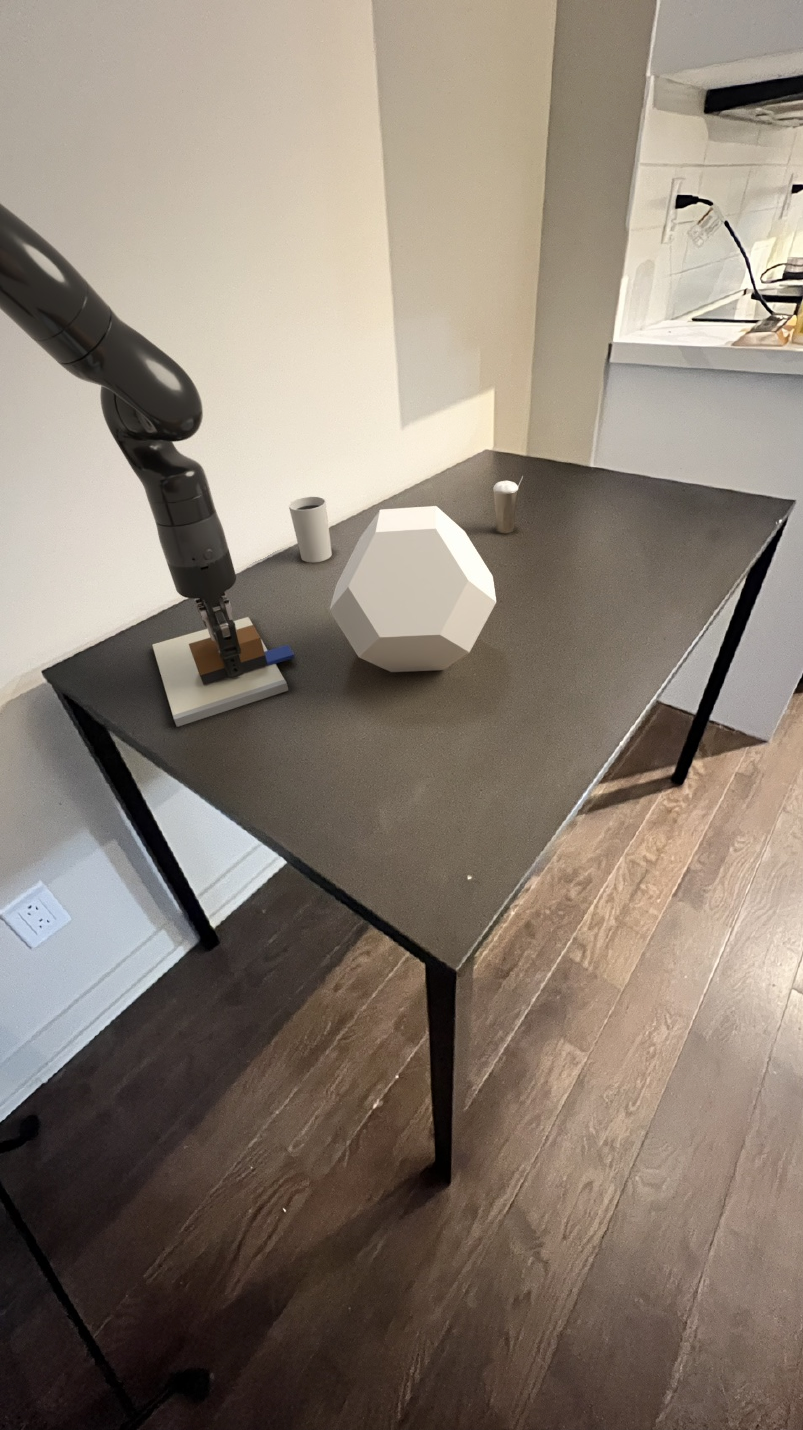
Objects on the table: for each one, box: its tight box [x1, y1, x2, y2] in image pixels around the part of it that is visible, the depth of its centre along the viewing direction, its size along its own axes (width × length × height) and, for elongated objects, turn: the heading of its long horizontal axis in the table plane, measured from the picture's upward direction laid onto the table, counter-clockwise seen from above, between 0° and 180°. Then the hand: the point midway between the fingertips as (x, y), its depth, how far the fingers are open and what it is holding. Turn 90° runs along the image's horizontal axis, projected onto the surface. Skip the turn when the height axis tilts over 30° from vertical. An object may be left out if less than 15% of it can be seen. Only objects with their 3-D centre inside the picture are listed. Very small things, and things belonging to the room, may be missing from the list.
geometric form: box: [328, 505, 497, 673], centre depth 82 cm, size 20×20×20 cm
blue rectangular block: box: [264, 644, 296, 666], centre depth 88 cm, size 4×3×1 cm
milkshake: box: [492, 475, 524, 534], centre depth 116 cm, size 5×5×10 cm
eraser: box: [189, 624, 268, 685], centre depth 85 cm, size 4×9×4 cm, turn 115°
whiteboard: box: [152, 616, 289, 728], centre depth 89 cm, size 15×21×1 cm
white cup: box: [288, 496, 333, 563], centre depth 114 cm, size 7×7×10 cm
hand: (232, 666), depth 86 cm, fingers closed on eraser, 4 cm apart
